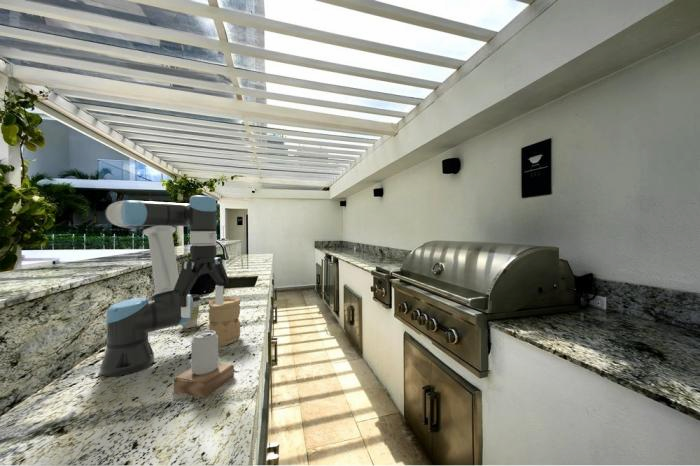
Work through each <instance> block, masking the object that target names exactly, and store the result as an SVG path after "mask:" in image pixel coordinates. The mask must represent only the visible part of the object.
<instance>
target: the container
mask: <svg viewBox="0 0 700 466" xmlns="http://www.w3.org/2000/svg"><path fill="white" fill-rule="evenodd" d="M240 304H241V299H240V297H238V296H223V305H215V298H213V299H211V300H209V301H208V321H209V323H208V330H212V331H215V332H216V333H215V334H216V335H217V336H218V348H219V347H225V346H227V345H229V344H232V343H236V341H237V339H239V338H240V337H241V322H240V319H239V318H240V314H241V305H240Z"/></svg>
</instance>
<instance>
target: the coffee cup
mask: <svg viewBox="0 0 700 466" xmlns="http://www.w3.org/2000/svg"><path fill="white" fill-rule="evenodd" d="M190 295H191V296H192V298H193V313H192V316H191V318H190V320H189V321H188V322H187V323H184V324H181V325H182V328H186V329H189V328H190V329H191V328H195V327H196V326H197V325H198V318H199V309H200V301H201V297H200V295H199V294H190Z"/></svg>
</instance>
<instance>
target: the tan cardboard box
mask: <svg viewBox="0 0 700 466" xmlns="http://www.w3.org/2000/svg"><path fill="white" fill-rule="evenodd" d="M234 378H235V366H234V364H229V363H225V362H219V361H218V367H217V368H216V369H215V370H214V371H213V372H212V373H210V374H207V375H196V374H194V373H193V372H192V367H191V368H189V369H187V370H185V371H184V372H183V373H180V374H179V375H177V376H175V377H174V378H173V392H174V393H179V394H184V395H189V396H192V397H193V396H194V397H198V398H204V399H207V398H209V397H210V396H211V395H212V394H213V393H215V392H216V391H217V390H219V389H220V388H221V387H223V386H224V385H225V384H227V383H228V382H229V381H231V379H234Z"/></svg>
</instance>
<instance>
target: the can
mask: <svg viewBox="0 0 700 466" xmlns="http://www.w3.org/2000/svg"><path fill="white" fill-rule="evenodd" d="M215 333H216V332H215V331H212V330H209V329H208V330H202V331H199V332H196V333H195V334H194V335H193V337H192V339H191V346H190V347H191V368H192V372H193V373H194V374H196V375H207V374H210V373H212V372H213V371H214V370H215V369H216V368H217V367H218V362H219V347H218V336H217V335H216V334H215Z"/></svg>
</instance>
